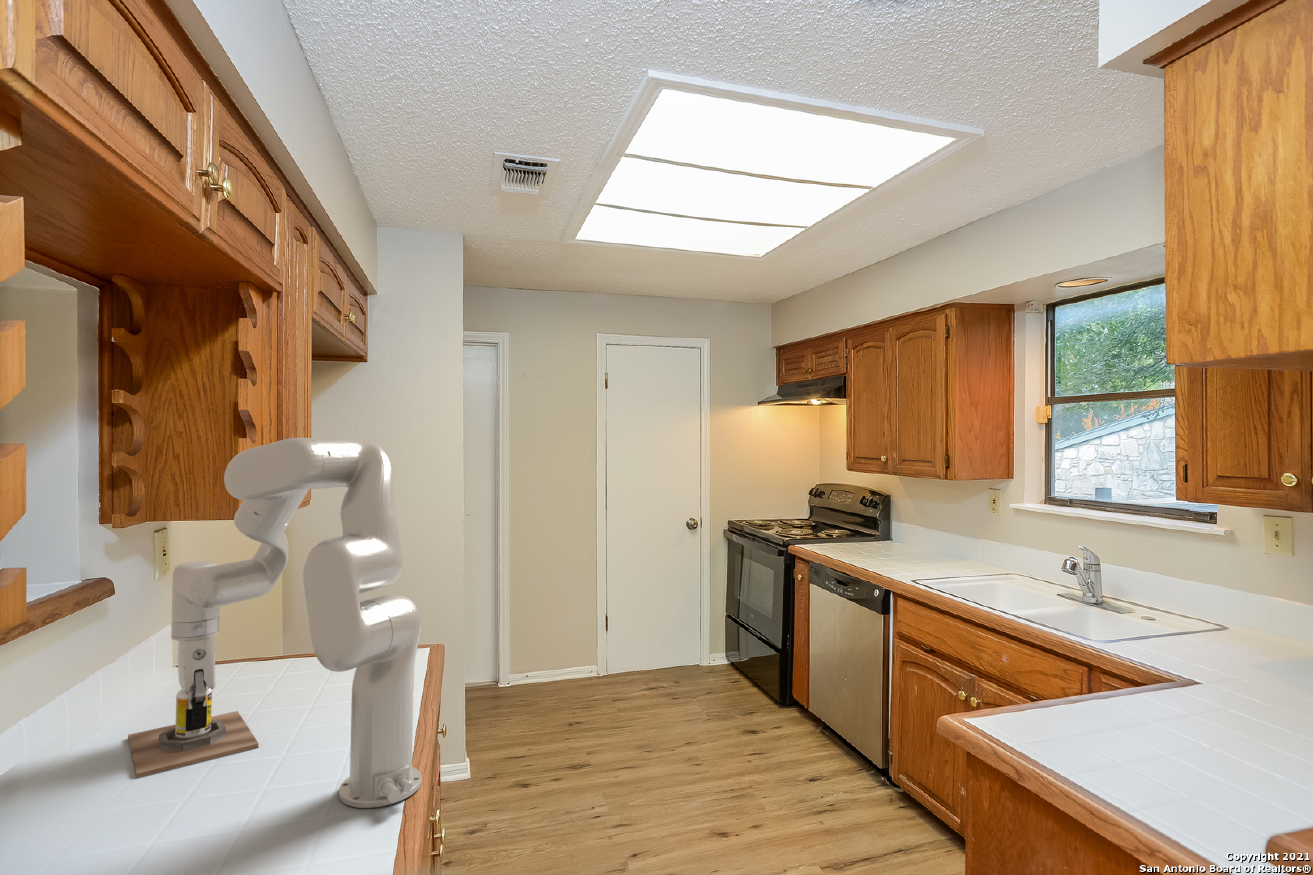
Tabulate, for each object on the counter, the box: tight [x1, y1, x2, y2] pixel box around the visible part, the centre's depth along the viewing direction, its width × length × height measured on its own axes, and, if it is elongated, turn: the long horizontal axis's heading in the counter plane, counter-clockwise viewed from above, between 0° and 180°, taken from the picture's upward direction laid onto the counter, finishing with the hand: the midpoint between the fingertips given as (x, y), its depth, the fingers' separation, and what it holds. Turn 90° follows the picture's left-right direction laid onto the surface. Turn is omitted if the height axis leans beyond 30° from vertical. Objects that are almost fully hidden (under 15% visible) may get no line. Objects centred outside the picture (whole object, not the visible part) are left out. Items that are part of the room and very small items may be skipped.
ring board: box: [127, 710, 259, 779], centre depth 126 cm, size 20×18×2 cm
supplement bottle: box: [175, 685, 213, 739], centre depth 126 cm, size 6×6×10 cm
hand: (193, 722), depth 126 cm, fingers closed on supplement bottle, 5 cm apart
